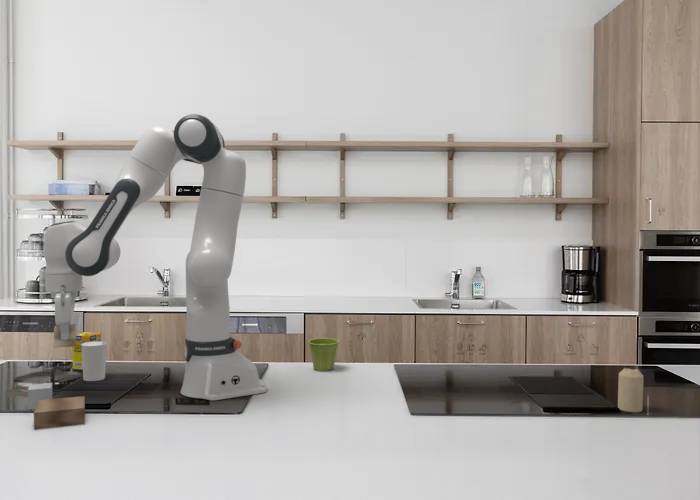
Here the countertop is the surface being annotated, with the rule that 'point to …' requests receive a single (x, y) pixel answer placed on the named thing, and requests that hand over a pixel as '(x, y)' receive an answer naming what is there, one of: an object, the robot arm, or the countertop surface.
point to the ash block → (65, 343)
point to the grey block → (39, 394)
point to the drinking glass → (93, 360)
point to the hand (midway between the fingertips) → (65, 337)
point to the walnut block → (59, 412)
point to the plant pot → (323, 353)
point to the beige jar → (630, 390)
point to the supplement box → (77, 349)
